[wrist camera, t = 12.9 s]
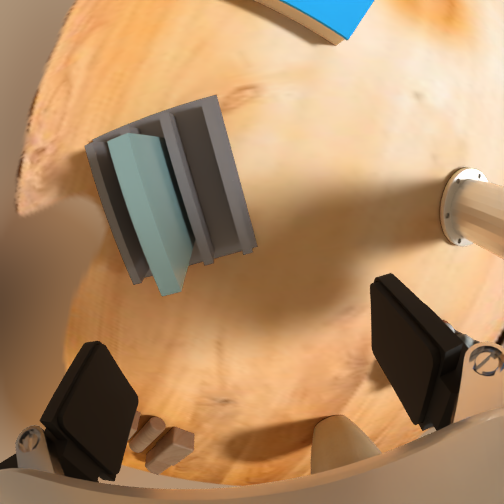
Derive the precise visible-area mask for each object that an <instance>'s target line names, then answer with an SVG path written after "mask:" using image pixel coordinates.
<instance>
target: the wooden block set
mask: <svg viewBox="0 0 504 504" xmlns="http://www.w3.org/2000/svg"><path fill="white" fill-rule="evenodd" d="M139 418H140V412H138V411H136V413H135V416H134V420H133V423H132V427H131V430H130V434H129V437H128V440H129V439H130V438H131V437H132V436H133V435H134V433H135V432H136V431H137V427H138V423H139ZM164 430H165V423H164V421H163V420H162V419H160V418H158V417H152V418H150V420H149V421H148V422H147V423H146V424H145V425H144V426H143V427H142V429H141V430H140V431H139V432H138V433H137V434H136V435H135V436H134V438H133V439H132V440H131V441H130V442H129V446H130V448H131V450H133V451H134V452H137V453H140V452H142V451H143V450H144V449H145V448H146V447H147V446H148V445H150V444H151V443H152V442H153V441H154V440H155V439H156V438H157V437H158V436H159V435H160V434H161V433H162V432H163V431H164ZM193 451H194V434H193V433H191V432H188V431H185V430H183V429H180V428H177V427H173V428H172V429H171V430H170V431H169V432H168V433H167V434H166V435H165V436H163V437H162V438H161V439H160V440H159V441H158V442H157V443H156V446H155V447H154V448H153V449H152V450H150V451H149V452H148V453H147V456H146V463H145V467H146V468H147V469H148V470H149V471H150V472H151V473H154V474H157V475H158V474H160V473H162V472H163V471H164V470H166V469H167V468H169V467H170V466H171V465H175V464H177V463H178V462H180V461H181V460H182V459H184V458H185V457H186V456H188V455H189V454H190V453H192V452H193Z"/></svg>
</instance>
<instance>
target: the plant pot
mask: <svg viewBox="0 0 504 504" xmlns="http://www.w3.org/2000/svg"><path fill="white" fill-rule="evenodd" d="M379 454H382V453H381V451H380V450H379V449H378V448H377V446H376V445H375V444H374V443H373V442H372V441H371V439H370V438H369V437H368V436H367V435H366V434H365V433H364V432H363V431H362V430H361V429H360V428H359V427H358V426H357V425H355V424H354V423H353V422H352V421H351V420H350V419H348V418H347V417H346V416H343V415H335V416H331V417H328V418H326V419H324V420H322V421H321V422H319V423H318V424H317V425H316V426H315V428H314V432H313V439H312V449H311V475H312V474H316V473H320V472H324V471H328V470H332V469H335V468H339V467H342V466H346V465H349V464H352V463H355V462H358V461H361V460H364V459H367V458H370V457H373V456H376V455H379Z"/></svg>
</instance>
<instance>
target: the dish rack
mask: <svg viewBox="0 0 504 504" xmlns="http://www.w3.org/2000/svg"><path fill="white" fill-rule="evenodd" d="M126 133H133V134H141V135H149V136H156V137H163V138H165V141H166V145H167V148H168V152H169V155H170V158H171V162H172V165H173V169H174V172H175V175H176V179H177V182H178V185H179V189H180V192H181V195H182V198H183V202H184V205H185V208H186V211H187V214H188V217H189V220H190V223H191V227H192V230H193V233H194V236H195V239H196V240H195V243H194V247H193V250H192V254H191V257H190V261H189V265H193V264H196V263H200V262H204V265H209V264H212V263H214V258H218V257H222V256H225V255H229V254H232V253H236V252H240V251H243V255H245V254H249V253H252V252H253V251H252V248H254V247H258V246H257V243H256V239H255V235H254V231H253V228H252V224H251V220H250V217H249V213H248V209H247V205H246V202H245V198H244V194H243V190H242V187H241V183H240V179H239V176H238V172H237V168H236V165H235V161H234V157H233V154H232V150H231V146H230V143H229V139H228V135H227V132H226V128H225V124H224V121H223V117H222V113H221V110H220V106H219V103H218V99H217V95H214V96H210V97H207V98H203V99H199V100H196V101H193V102H189V103H186V104H183V105H180V106H177V107H174V108H171V109H168V110H165V111H162V112H159V113H156V114H153V115H151V116H148V117H145V118H143V119H140V120H137V121H135V122H132V123H130V124H127V125H125V126H122V127H120V128H118V129H115V130H113V131H111V132H108V133H106V134H104V135H102V136H99V137H97V138H95V139H93V142H92V143H89V144H87V145H85V149H86V153H87V157H88V160H89V164H90V167H91V171H92V174H93V177H94V181H95V184H96V187H97V190H98V193H99V196H100V199H101V202H102V205H103V208H104V211H105V214H106V217H107V220H108V222H109V225H110V228H111V231H112V233H113V236H114V239H115V241H116V244H117V246H118V249H119V251H120V254H121V256H122V259H123V261H124V264H125V266H126V268H127V271H128V273H129V275H130V278H131V280H132V282H133V285H136V284H139V283H142V281H143V279H144V278H146V277H149V276H153V274H152V272H151V269H150V267H149V264H148V262H147V259H146V257H145V254H144V252H143V249H142V246H141V244H140V241H139V238H138V236H137V233H136V230H135V228H134V225H133V222H132V219H131V216H130V213H129V211H128V208H127V205H126V202H125V199H124V196H123V193H122V190H121V186H120V183H119V180H118V177H117V174H116V170H115V167H114V164H113V160H112V157H111V153H110V150H109V146H108V142H107V141H109V140H112V139H114V138H116V137H119V136H121V135H124V134H126ZM189 265H188V266H189Z"/></svg>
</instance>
